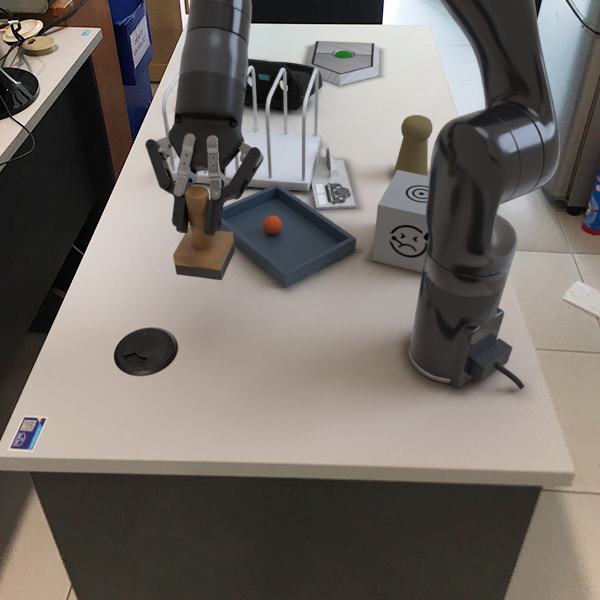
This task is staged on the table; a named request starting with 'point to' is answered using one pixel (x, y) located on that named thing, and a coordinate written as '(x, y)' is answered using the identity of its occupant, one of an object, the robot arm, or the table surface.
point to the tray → (285, 235)
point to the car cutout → (331, 184)
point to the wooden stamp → (202, 242)
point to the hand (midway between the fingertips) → (195, 232)
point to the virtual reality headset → (266, 77)
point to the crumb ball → (272, 225)
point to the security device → (344, 61)
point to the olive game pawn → (414, 145)
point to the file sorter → (271, 144)
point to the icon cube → (402, 222)
